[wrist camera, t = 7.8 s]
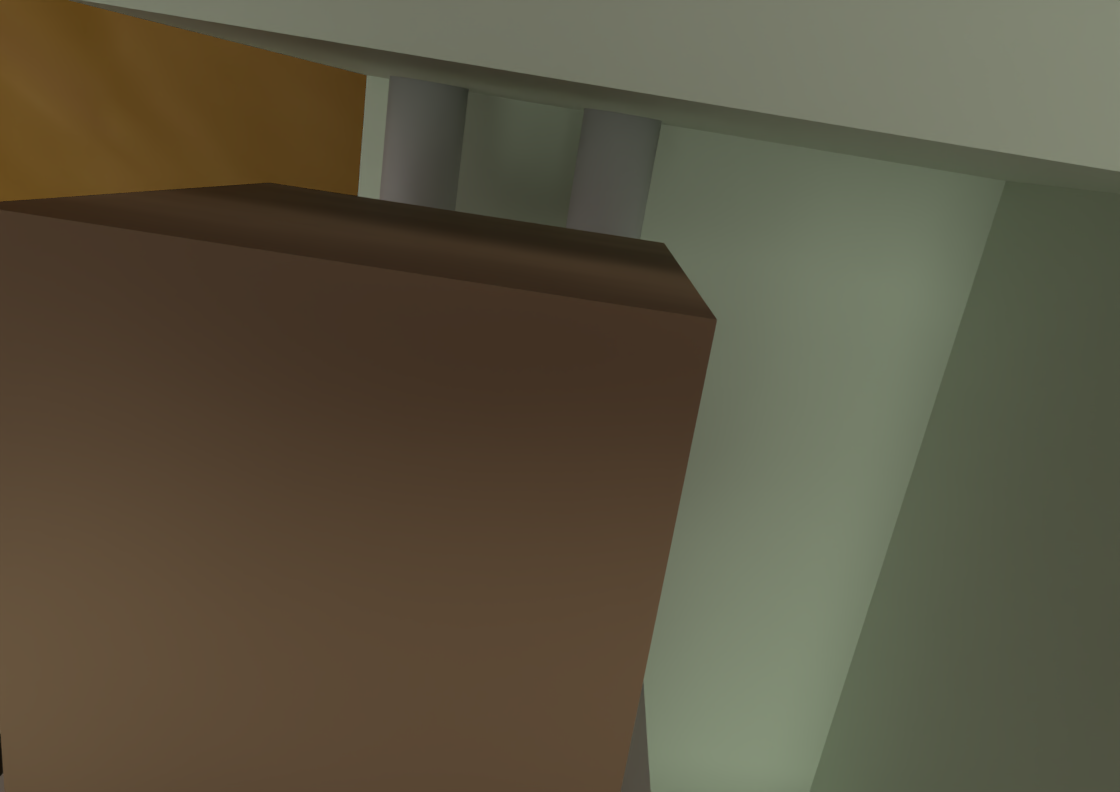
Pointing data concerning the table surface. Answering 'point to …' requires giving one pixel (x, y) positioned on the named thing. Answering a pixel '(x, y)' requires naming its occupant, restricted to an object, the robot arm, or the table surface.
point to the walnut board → (331, 492)
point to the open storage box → (821, 345)
